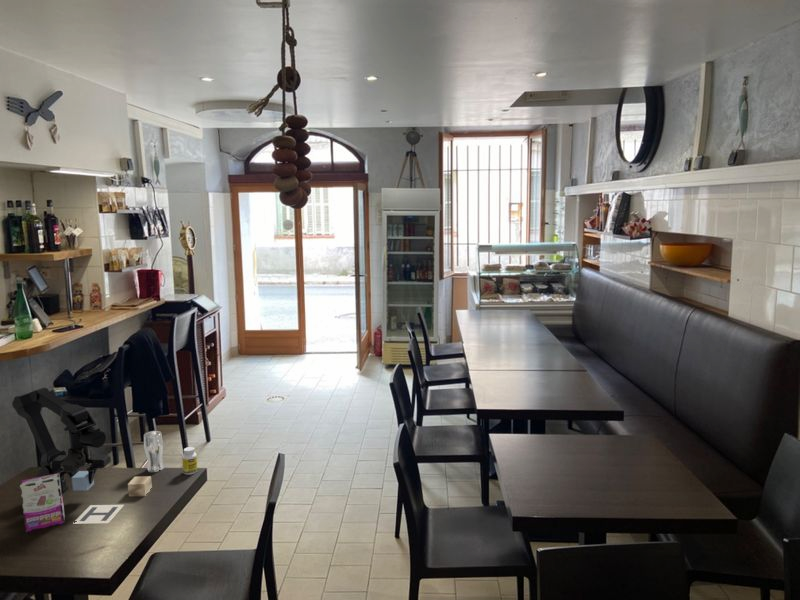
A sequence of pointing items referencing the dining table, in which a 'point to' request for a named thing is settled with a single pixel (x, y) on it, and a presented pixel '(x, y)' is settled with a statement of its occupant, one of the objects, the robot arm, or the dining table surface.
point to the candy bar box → (42, 502)
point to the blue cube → (81, 481)
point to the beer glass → (154, 450)
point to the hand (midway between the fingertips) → (83, 483)
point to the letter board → (98, 514)
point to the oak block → (139, 486)
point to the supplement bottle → (189, 461)
